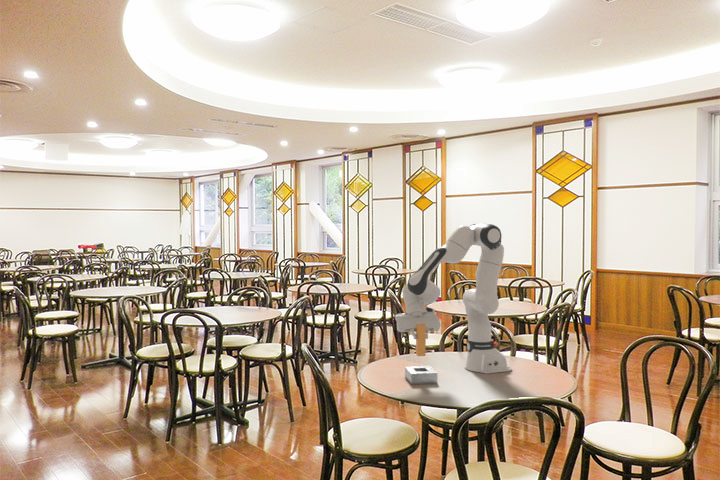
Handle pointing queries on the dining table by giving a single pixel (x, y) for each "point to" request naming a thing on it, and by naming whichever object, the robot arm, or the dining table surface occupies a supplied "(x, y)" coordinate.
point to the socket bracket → (421, 375)
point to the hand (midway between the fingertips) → (421, 338)
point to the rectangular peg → (421, 339)
